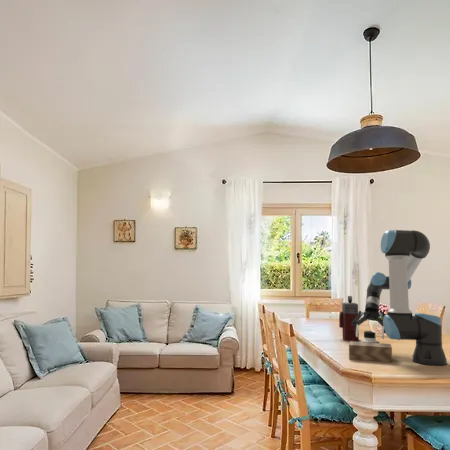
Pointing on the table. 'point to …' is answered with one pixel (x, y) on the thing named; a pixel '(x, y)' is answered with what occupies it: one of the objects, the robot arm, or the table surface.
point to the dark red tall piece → (348, 320)
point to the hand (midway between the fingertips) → (369, 336)
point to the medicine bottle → (370, 337)
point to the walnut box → (370, 351)
